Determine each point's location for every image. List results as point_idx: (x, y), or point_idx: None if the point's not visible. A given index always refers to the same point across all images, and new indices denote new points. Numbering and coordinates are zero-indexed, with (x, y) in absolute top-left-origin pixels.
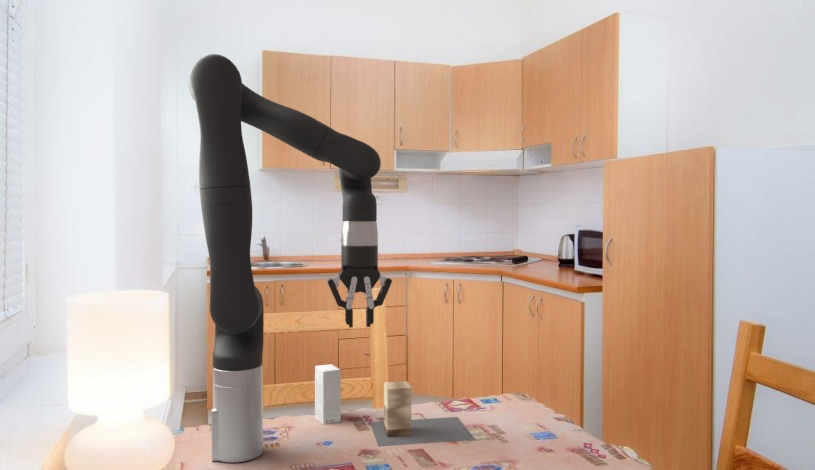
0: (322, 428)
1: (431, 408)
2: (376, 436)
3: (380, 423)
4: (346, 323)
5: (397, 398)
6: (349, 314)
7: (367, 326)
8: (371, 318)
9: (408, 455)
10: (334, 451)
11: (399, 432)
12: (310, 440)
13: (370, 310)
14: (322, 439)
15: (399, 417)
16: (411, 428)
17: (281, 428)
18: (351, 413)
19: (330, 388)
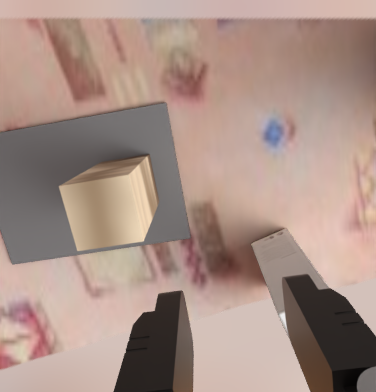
0: (287, 214)
1: (69, 319)
2: (172, 157)
3: (167, 230)
4: (336, 292)
5: (107, 173)
6: (346, 332)
7: (179, 291)
8: (145, 338)
9: (102, 62)
10: (256, 85)
11: (123, 159)
12: (309, 147)
13: (140, 381)
14: (284, 153)
15: (115, 165)
16: None
17: (373, 215)
18: (230, 296)
19: (293, 271)
